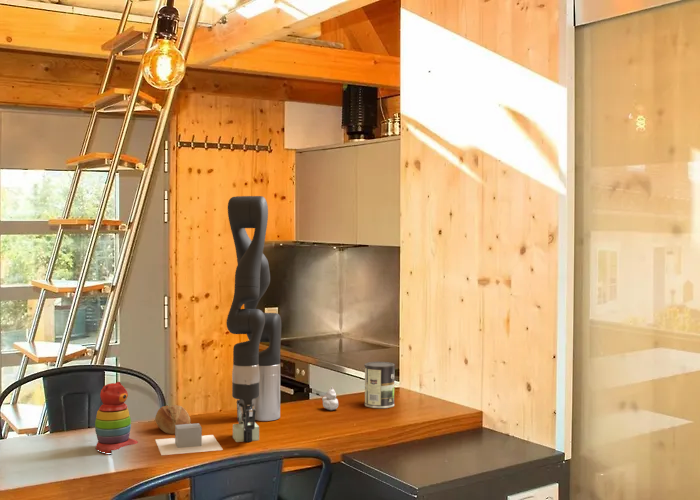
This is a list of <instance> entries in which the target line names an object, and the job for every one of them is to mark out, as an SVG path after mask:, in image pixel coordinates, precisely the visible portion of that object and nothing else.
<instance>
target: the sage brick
mask: <svg viewBox="0 0 700 500" xmlns="http://www.w3.org/2000/svg"><path fill="white" fill-rule="evenodd" d="M248 425H250V422H248ZM232 439H233V440H234V441H235V442H236V443H240V442H244V429H243V423H242V424H239V423H233V424H232ZM255 441H260V426H259V425H258V424H257V423H256V422H255V428H254V429H253V430H252V441H251V442H255ZM244 443H245V442H244Z"/></svg>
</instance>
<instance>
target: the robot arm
mask: <svg viewBox="0 0 700 500" xmlns="http://www.w3.org/2000/svg"><path fill="white" fill-rule="evenodd" d="M227 217H228V222H229V227H230V230H231V235H232V239H233V244H234V249H235V254H236V261H237V266H236V267H235V268H236V269H235V272H234V291H233V297H232V302H231V305H230V308H229V311H228V314H227V317H226V324H225V325H226V328H227V330H228V332H229V333H231V334H233V335H246V337H247V339H248V340H246V341H240V342H237V343H236V344H234V345H233V348H232V350H233V351H232V353H233V354H232V356H233V359H232V361H233V362H232V371H231V372H232V373H231V374H232V375H231V377H232V378H231V379H232V381H231V383H232V385H231V389H232V390H231V391H232V393H231V397H232V398H233V399H235V400H236V409H237V410H236V412H237V413H236V414H237V422H238V424H242V423H243V429H244V443H251V442H253V441H252V430H253V429H254V428H255V423H256V421H261V422H268V421H276V420H278V419H280V418H281V343H282V317H281V315H280V314H279V313H277V312H263V310H261V309H259V308H257V307H258V304H259V302H260V300H261V298H263V296H264V295H265V293H266V291H267V289H268V287H269V286H270V283H271V272H270V266H269V261H268V258H267V257H266V255H265V254H264V248H265V242H266V241H265V240H266V234H267V228H268V227H267V226H268V219H269V207H268V202H267V199H266V198H265V196H262V195H261V196H260V195H242V196H241V195H239V196H238V195H237V196H232V197H231V198H230V199H229V200H228V203H227ZM246 229H254V230H253V231H254V232H253V237H252V239H251V238H250V237H249V234H248V233H247V230H246ZM242 307H244V308H242ZM260 343H269V346H268V347H267V348H265V349H263V350H262V351H259V350H260ZM248 423H250V425H248Z"/></svg>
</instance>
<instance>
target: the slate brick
mask: <svg viewBox="0 0 700 500" xmlns="http://www.w3.org/2000/svg"><path fill="white" fill-rule="evenodd" d="M202 429H203V427H202V426H201V424H200V423H199V422H198V423H197V422H196V423H190V424H182V425H175V434H174V435H175V436H174V438H175V444H176V446H177V448H183V447H195V446H202V436H203V435H202V432H203V430H202Z"/></svg>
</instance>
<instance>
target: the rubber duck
mask: <svg viewBox="0 0 700 500" xmlns="http://www.w3.org/2000/svg"><path fill="white" fill-rule="evenodd" d="M325 393H326V394H325V396H323V397H322V406H323V408H324V409H325V410H328V411H335V410H336V409H338V407H339V399H338V398H337V393H336V391H335V389H334V388H333V386H331V387H330V388H329V389H328V390H327V391H326V392H325Z"/></svg>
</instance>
